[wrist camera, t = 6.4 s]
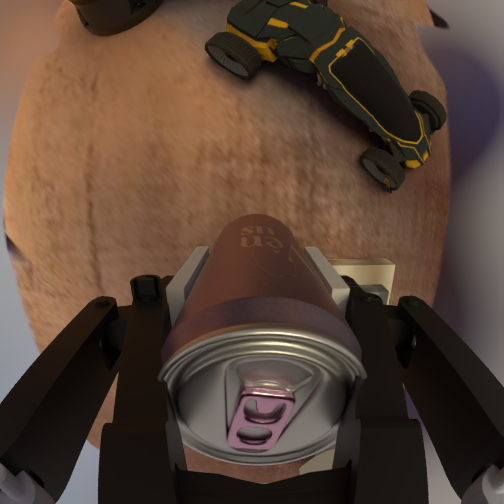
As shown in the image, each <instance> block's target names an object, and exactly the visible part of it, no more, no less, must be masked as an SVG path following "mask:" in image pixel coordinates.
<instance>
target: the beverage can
mask: <svg viewBox="0 0 504 504" xmlns="http://www.w3.org/2000/svg"><path fill="white" fill-rule="evenodd" d="M361 355H362V350H361V347H360V344H359V342H358V340H357V338H356V337H355V335H354V333H353V331H352V330H351V328H350V326H349V325H348V323H347V321H346V319H345V318H344V316H343V314H342V313H341V311H340V309H339V308H338V306H337V304H336V303H335V301H334V299H333V298H332V296H331V294H330V293H329V291H328V290H327V288H326V286H325V285H324V283H323V281H322V280H321V278H320V277H319V275H318V273H317V272H316V270H315V269H314V267H313V265H312V264H311V262H310V261H309V259H308V257H307V256H306V254H305V253H304V251H303V250H302V248H301V247H300V245H299V243H298V242H297V240H296V239H295V237H294V236H293V234H292V233H291V231H290V230H289V229H288V228H287V226H286V225H284V224H283V223H282V222H281V221H279V220H277V219H275V218H273V217H271V216H267V215H262V214H251V215H246V216H242V217H240V218H238V219H236V220H234V221H232V222H231V223H230V224H229V225H227V226H226V227H225V229H224V230H223V231H222V232H221V234H220V236H219V238H218V239H217V241H216V243H215V245H214V247H213V249H212V251H211V253H210V254H209V256H208V258H207V260H206V262H205V264H204V266H203V268H202V270H201V272H200V274H199V275H198V277H197V279H196V281H195V283H194V285H193V287H192V289H191V291H190V293H189V295H188V297H187V299H186V301H185V303H184V305H183V307H182V309H181V311H180V313H179V315H178V317H177V319H176V321H175V323H174V325H173V327H172V329H171V331H170V333H169V335H168V337H167V339H166V341H165V344H164V346H163V348H162V350H161V358H162V365H163V367H162V369H161V370H160V373H159V375H158V378H157V379H158V380H159V381H166V383H167V385H168V389H169V392H170V396H171V400H172V403H173V407H174V410H175V414H176V417H177V421H178V425H179V428H180V433H181V437H182V443H184V444H185V445H187V446H188V447H190V448H192V449H193V450H195V451H197V452H199V453H201V454H204V455H206V456H209V457H211V458H214V459H218V460H221V461H225V462H230V463H235V464H243V465H274V464H281V463H287V462H292V461H296V460H300V459H303V458H306V457H309V456H311V455H314V454H316V453H318V452H321V451H322V450H324V449H326V448H328V447H330V446H331V445H333V444H335V443H336V438H337V430H338V427H339V424H340V421H341V418H342V415H343V412H344V410H345V407H346V404H347V401H348V398H349V394H350V391H351V388H352V384H353V381H354V378H355V376H356V375H357V376H358V377H359V378H360V379H366V378H367V374H366V371H365V369H364V367H363V365H362V363H361Z"/></svg>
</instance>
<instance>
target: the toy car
mask: <svg viewBox="0 0 504 504" xmlns="http://www.w3.org/2000/svg"><path fill="white" fill-rule="evenodd" d="M227 24H228V27H227V30H226V32H219V33H217V34H215V35H214V36H213V37H212V38H211V39H210V40H209V41H208V42H206V44H205V51H206V52H207V53H208V55H209V56H210V57H211V58H212V59H213V60H214V61H215V62H216V63H218V64H219V65H220V66H221V67H223V68H224V69H226V70H228V71H229V72H231V73H232V74H234V75H235V76H237V77H240V78H242V79H249V78H251V77H252V76H253V75H254V74H255V73H256V72H257V71H258V70H259V69H260V67H261V61H262V60H268V61H271V62H274V61H275V60H276V59H277V58H279V59H280V60H281V61H282V62H283V63H284V64H286V65H287V66H288V67H289V68H294V69H295V70H298V71H302V72H306V73H313V72H315V73H317V77H318V82H317V86H319V87H320V86H321V85H322V84H323V83H324V85H323V86H322V88H323V89H324V90H325V89H326V88H327V91H328V92H329V94H330V95H331V97H332V98H333V100H334V101H335V102H336V103H337V104H339V105H340V106H341V107H343V108H344V109H345V110H347V111H348V112H349V113H351V114H353V115H354V116H356V117H357V118H359V119H361V120H362V121H364V122H365V124H366V125H367V127H368V128H369V130H370V132H375V133H376V134H378V135H380V136H381V138H382V139H383V140H384V142H385V144H384V145H383V148H382V149H383V150H381V149H377V148H375V147H371V148H368V149H367V150H366V151H365V153H364V154H363V155H362V156H361V158H360V162H361V164H362V166H363V168H364V169H365V170H366V171H367V172H369V174H370V175H371V176H372V177H373V178H374V179H375V180H376V181H377V182H379V183H380V184H381V185H383V186H384V187H385V190H386V191H387V192H389V193H392V190H394V191H395V190H398V188H399V187H400V186H401V184H402V183H403V182H404V179H405V174H404V171H403V169H405V168H409V167H410V168H417V167H420V166H422V165H423V164H424V162H425V159H426V158H427V156H429V155H430V154H431V152H432V150H431V141H430V134H432V135H433V133H434V131H435V130H440V129H441V127H442V126H443V124H444V123H445V121H446V112H445V109H444V107H443V105H442V104H441V103H440V102H439V101H438V100H437V99H436V98H435V97H434V96H432V95H430V94H429V93H427V92H425V91H419V90H416V91H413V92H412V93H411V94H410V95H409V97H408V96H407V94H406V93H405V91H404V90H403V88H402V87H401V85H400V83H399V81H398V79H397V77H396V75H395V73H394V71H393V69H392V68H391V66H390V65H389V63H388V62H387V61H386V59H385V58H384V56H383V55H382V54H381V53H380V52H378V51H377V50H376V49H375V48H374V47H373V46H372V45H371V43H370V42H369V41H368V40H367V39H366V38H364V37H363V36H362V35H361V34H360V33H359V32H358V31H356V30H355V29H354V28H353V27H352V26H350V27H349V28H347V25H346V24H345V22H344V20H343V18H342V17H339V15H338V14H335V13H334V12H333V11H332V10H331V9H330V8H328V7H327V0H242V1H241V2H239V3H238V4H237V5H236V6H235V7H232V8H231V10H230V13H229V15H228V17H227Z"/></svg>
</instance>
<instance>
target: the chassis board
mask: <svg viewBox="0 0 504 504" xmlns="http://www.w3.org/2000/svg"><path fill="white" fill-rule="evenodd" d="M327 260H328V262H329V263H330V264H331V265H332V267H333V268H334V269H335V270H336V271H337V273H338V274H339V275H347V276H349V277H351V278H353V279H354V280H355V281H356V283H357V284H358V285H359V287H361V288H362V289H363V290H364V292H369V293H373V294H376V295H378V296H380V297H381V299H382V301H383V304H384V305H388V303H389V298H390V293H391V287H392V282H393V276H394V270H395V264H393V263H392V262H391V261H389V260H388V259H386V258H362V259H327Z"/></svg>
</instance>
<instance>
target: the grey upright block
mask: <svg viewBox="0 0 504 504" xmlns="http://www.w3.org/2000/svg"><path fill="white" fill-rule="evenodd" d="M335 445H336V443H335V444H333V445H331V446H330V447H328V448H326V449H324V450H322V451H321V452H318V453H316V454H314V456H315V457H314V458H312V459H311V460H309V461H308V462H307V463H305V464H304V465H303V466H302V467H301V468H300V469H299V471H300V475H302V474H305V473H308V472H315V471H323V470H329V469H332V465H333V459H334V452H335Z"/></svg>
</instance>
